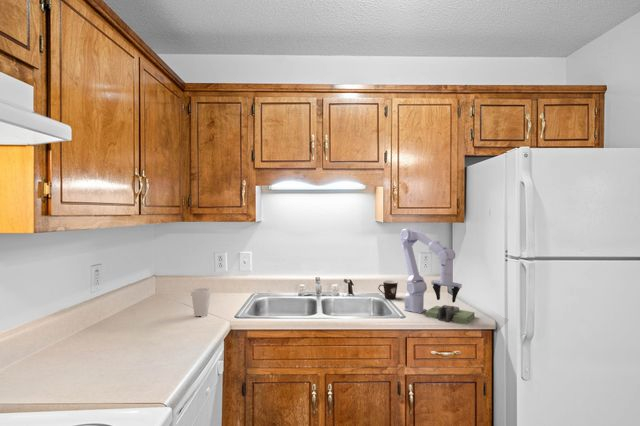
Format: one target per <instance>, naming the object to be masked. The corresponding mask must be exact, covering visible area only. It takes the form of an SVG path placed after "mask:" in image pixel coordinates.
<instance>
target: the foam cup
mask: <svg viewBox="0 0 640 426" xmlns="http://www.w3.org/2000/svg"><path fill="white" fill-rule="evenodd" d="M190 296H191V299H192V300H191V301H192V306H193V307H192V308H193V315H195V316H205V317H207V316H208V313H209V306H210V298H211V288H208V287H199V288H192V289H191V290H190ZM206 315H207V316H206ZM195 316H194V317H195Z"/></svg>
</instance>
